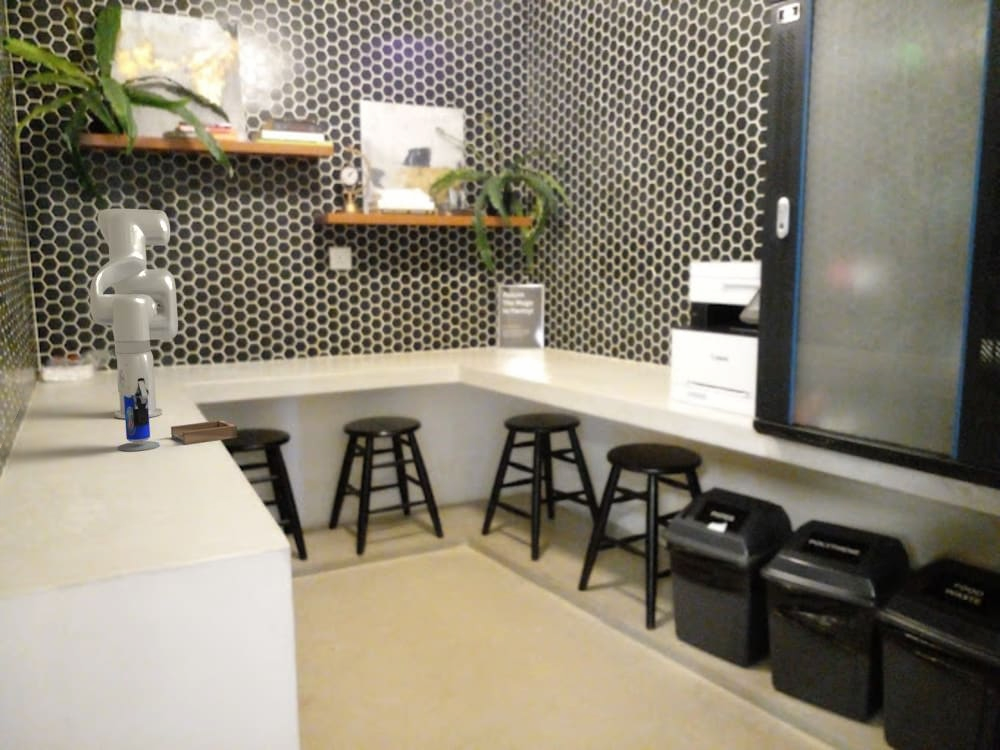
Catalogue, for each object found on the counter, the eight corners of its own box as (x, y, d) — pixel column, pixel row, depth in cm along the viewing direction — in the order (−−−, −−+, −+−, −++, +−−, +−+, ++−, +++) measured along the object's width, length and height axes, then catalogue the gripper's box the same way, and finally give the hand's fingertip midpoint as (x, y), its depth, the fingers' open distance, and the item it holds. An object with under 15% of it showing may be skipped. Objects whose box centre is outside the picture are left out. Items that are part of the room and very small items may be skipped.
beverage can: (122, 440, 181) (118, 378, 179) (143, 436, 185) (140, 376, 183) (133, 443, 177) (129, 380, 175) (154, 439, 182) (150, 378, 179)
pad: (113, 446, 182) (113, 444, 182) (152, 441, 188) (152, 439, 188) (124, 453, 175) (124, 451, 175) (164, 447, 181) (164, 445, 181)
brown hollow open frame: (171, 438, 191) (170, 426, 191) (222, 431, 200) (221, 420, 199) (185, 444, 184) (184, 432, 183) (237, 437, 192) (236, 425, 192)
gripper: (105, 346, 182) (110, 420, 184) (126, 352, 169) (131, 431, 172) (138, 344, 187) (143, 416, 189) (161, 350, 174) (165, 426, 177)
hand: (137, 422), depth 180 cm, fingers closed on beverage can, 5 cm apart
